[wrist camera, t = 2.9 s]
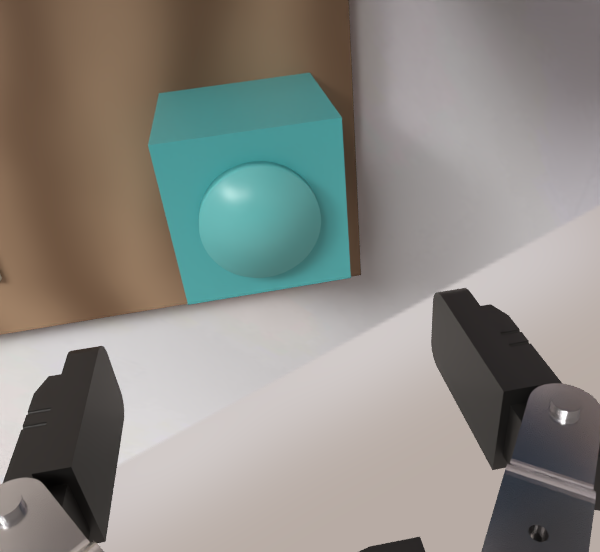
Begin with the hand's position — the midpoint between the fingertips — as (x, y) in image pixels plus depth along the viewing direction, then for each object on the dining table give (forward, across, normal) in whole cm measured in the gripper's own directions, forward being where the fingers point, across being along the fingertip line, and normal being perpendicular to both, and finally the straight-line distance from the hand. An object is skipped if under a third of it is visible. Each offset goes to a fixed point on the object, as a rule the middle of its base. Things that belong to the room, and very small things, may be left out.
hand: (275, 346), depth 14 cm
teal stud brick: (+12, 0, 0) cm, 12 cm away
